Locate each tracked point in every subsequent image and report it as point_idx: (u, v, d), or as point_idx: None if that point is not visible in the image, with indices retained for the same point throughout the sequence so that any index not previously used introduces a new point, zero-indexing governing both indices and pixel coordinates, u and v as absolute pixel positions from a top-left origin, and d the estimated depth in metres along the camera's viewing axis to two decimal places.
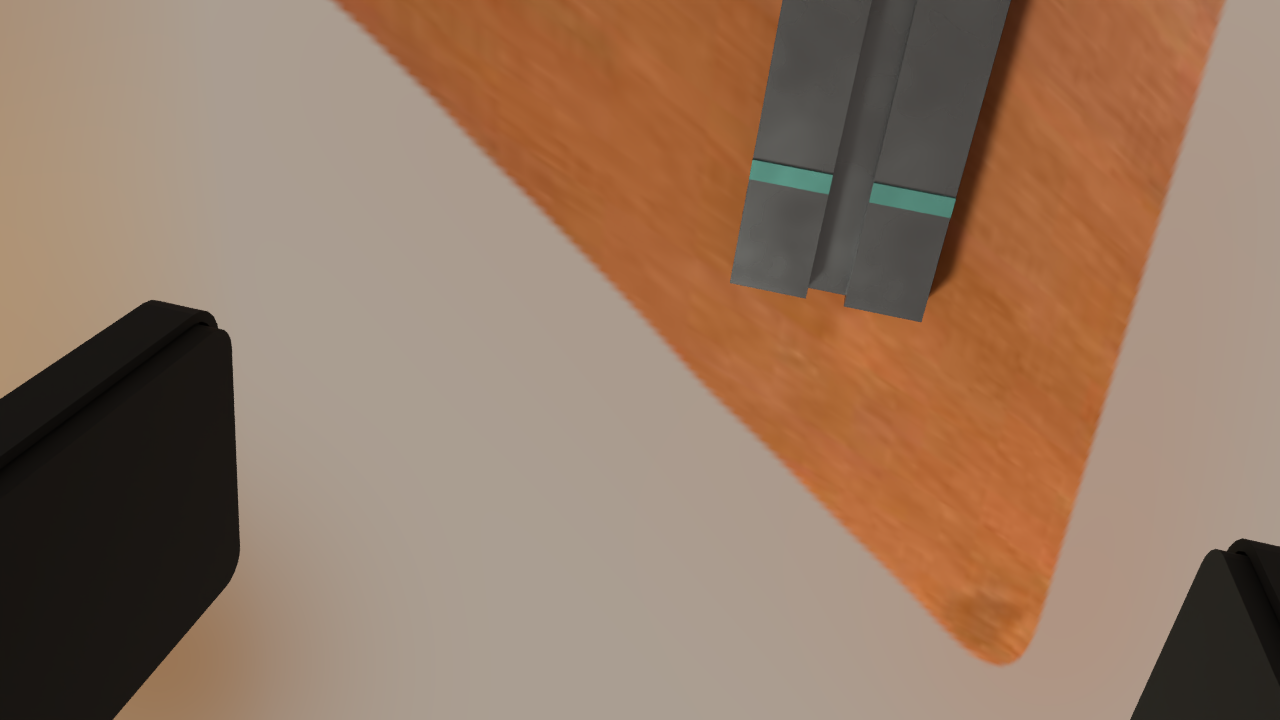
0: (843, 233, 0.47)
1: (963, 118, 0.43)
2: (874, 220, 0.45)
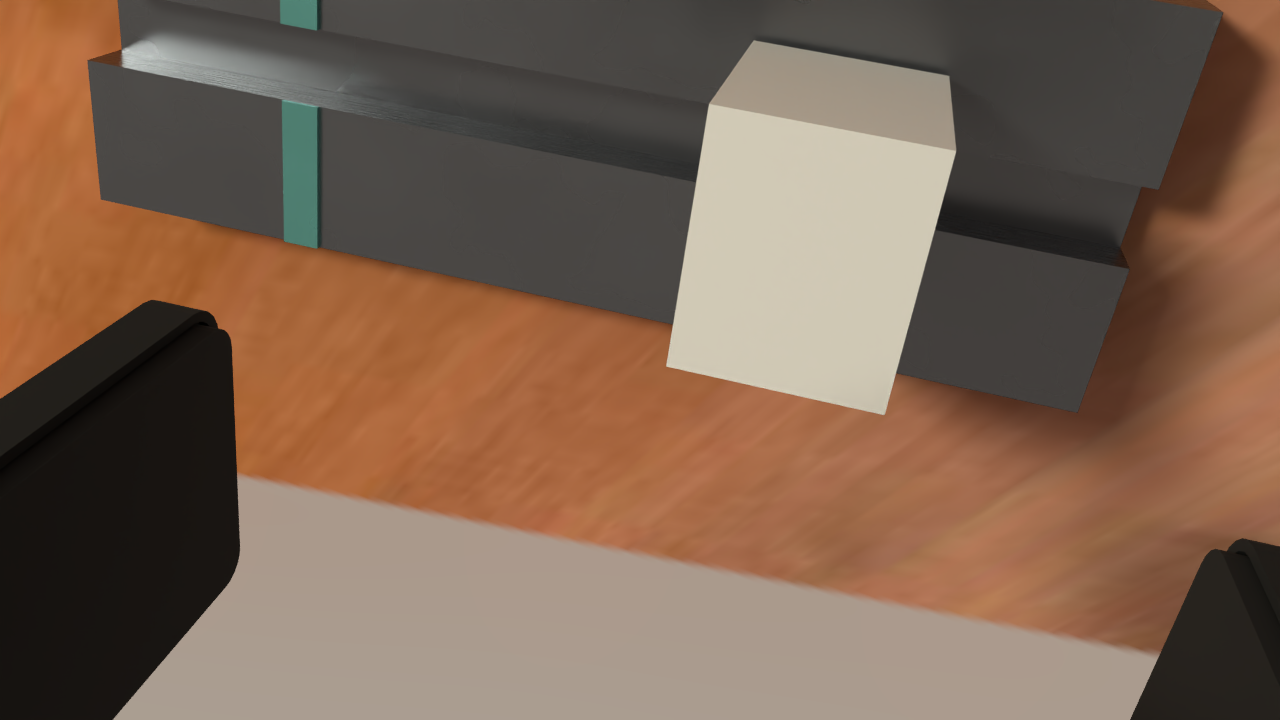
0: (229, 41, 0.25)
1: (450, 253, 0.25)
2: (253, 111, 0.24)
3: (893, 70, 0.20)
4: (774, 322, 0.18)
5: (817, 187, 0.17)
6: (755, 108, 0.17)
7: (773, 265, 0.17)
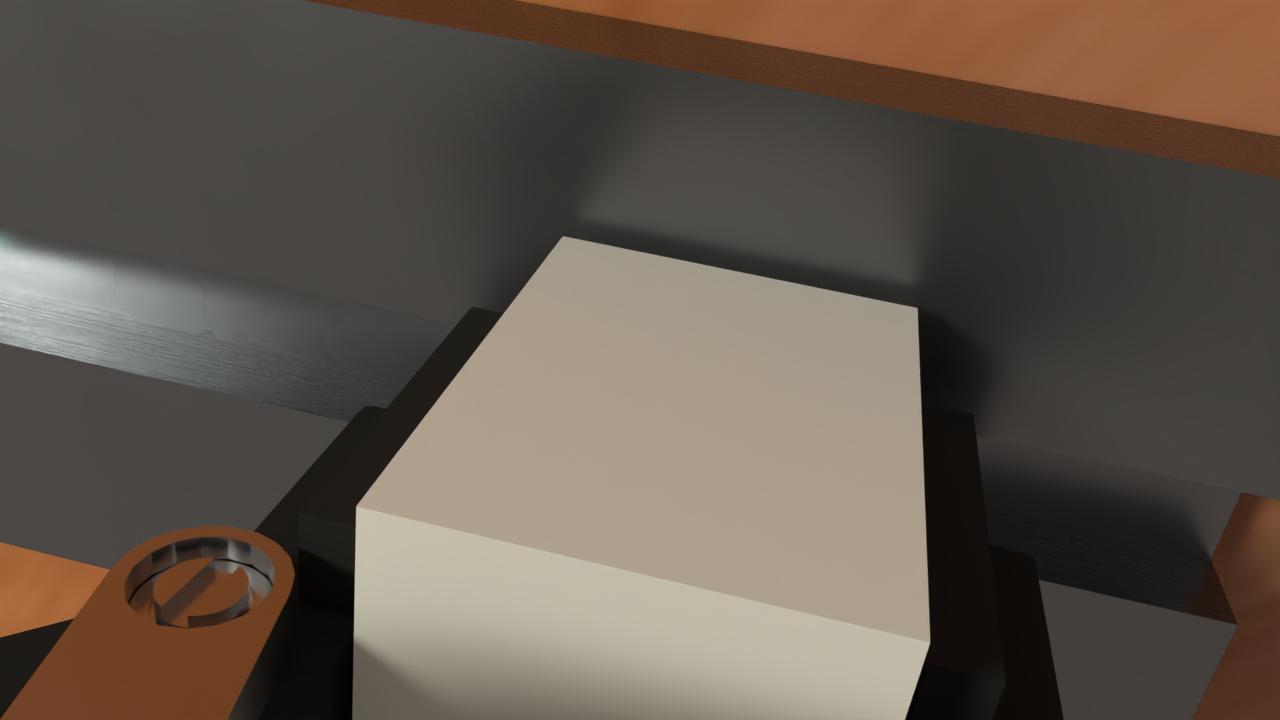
0: None
1: (111, 540, 0.15)
2: None
3: (812, 305, 0.11)
4: None
5: (615, 684, 0.07)
6: (471, 505, 0.07)
7: None
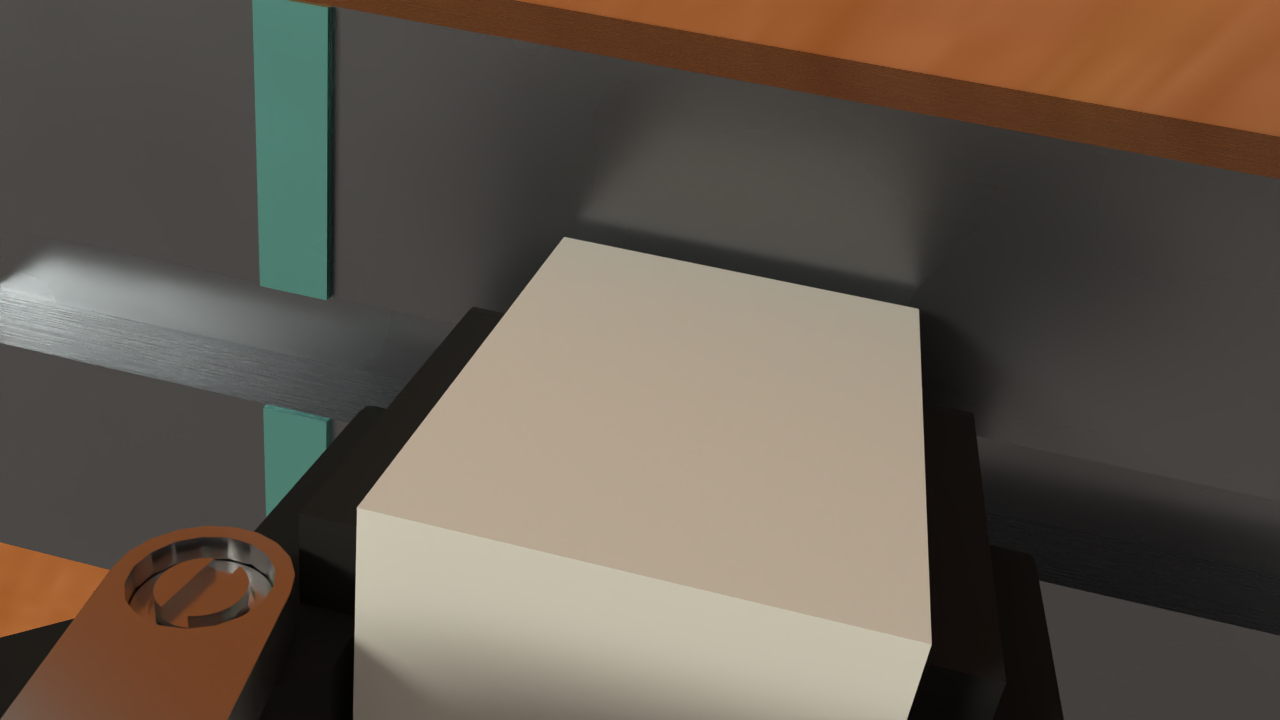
0: (172, 284, 0.15)
1: None
2: (212, 418, 0.14)
3: (814, 305, 0.11)
4: None
5: (616, 686, 0.07)
6: (472, 507, 0.07)
7: None
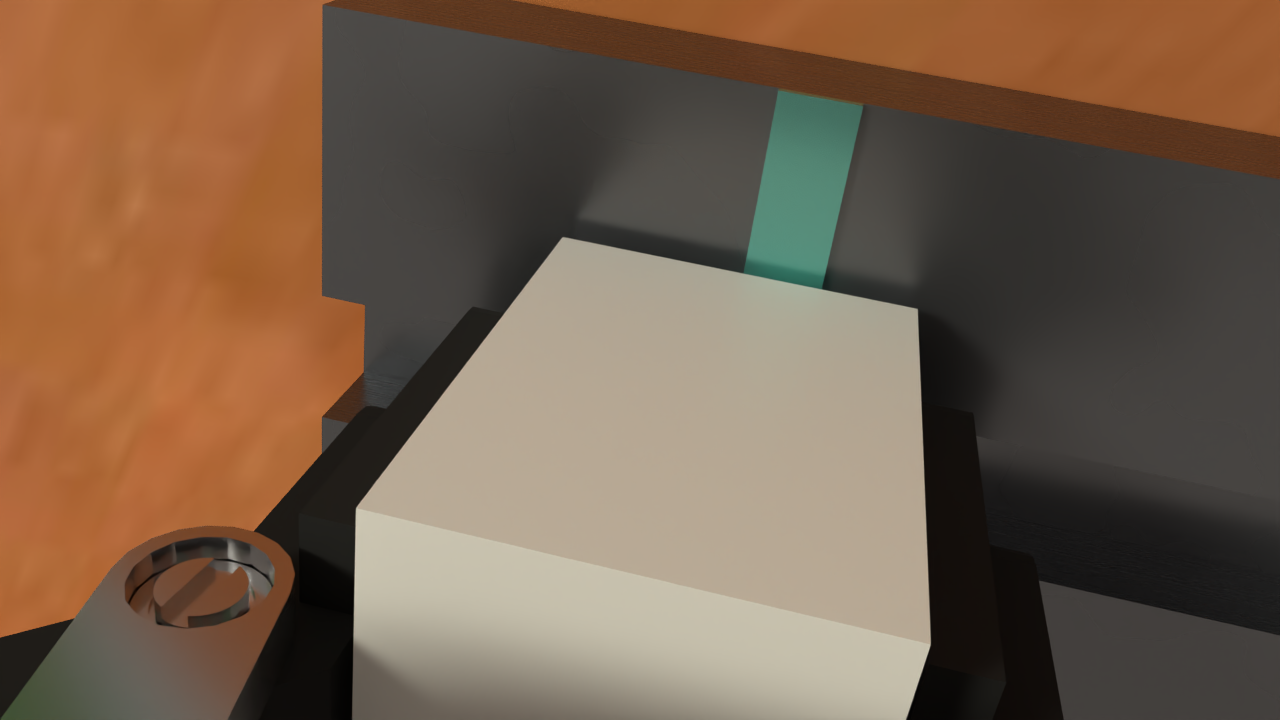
0: None
1: None
2: None
3: (813, 305, 0.11)
4: None
5: (615, 686, 0.07)
6: (471, 507, 0.07)
7: None
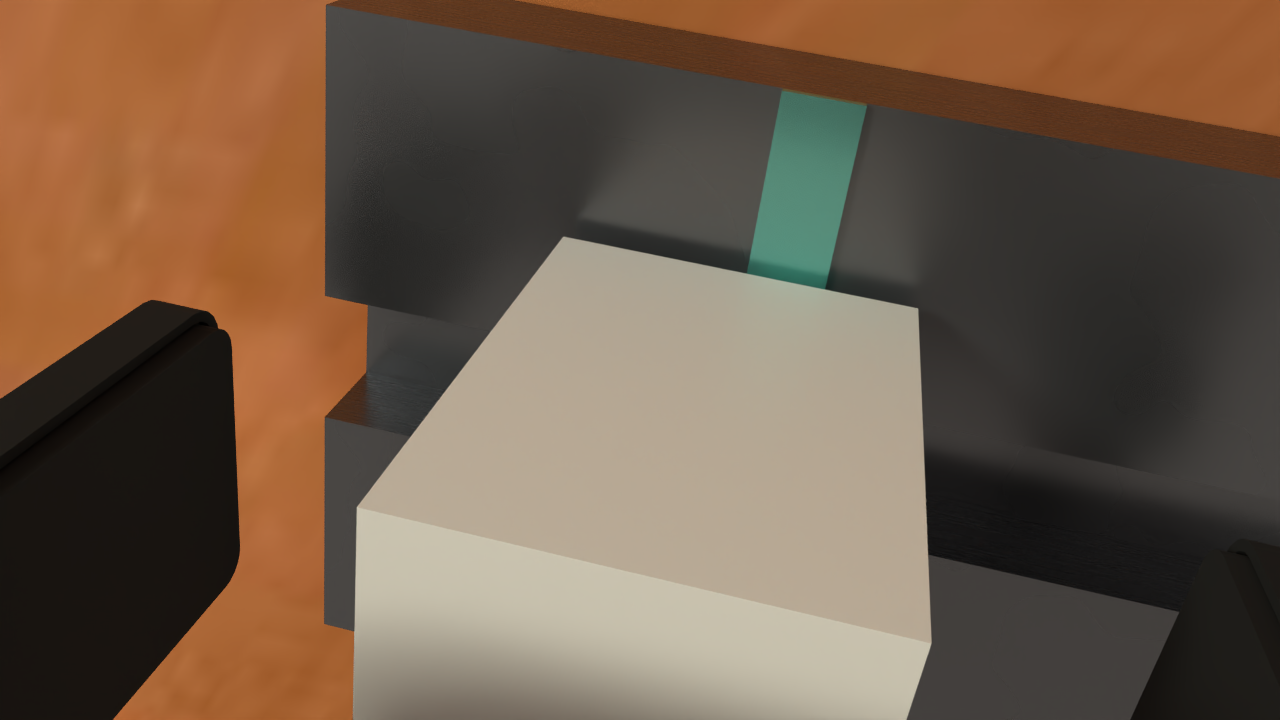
0: None
1: None
2: None
3: (813, 305, 0.11)
4: None
5: (615, 686, 0.07)
6: (471, 506, 0.07)
7: None
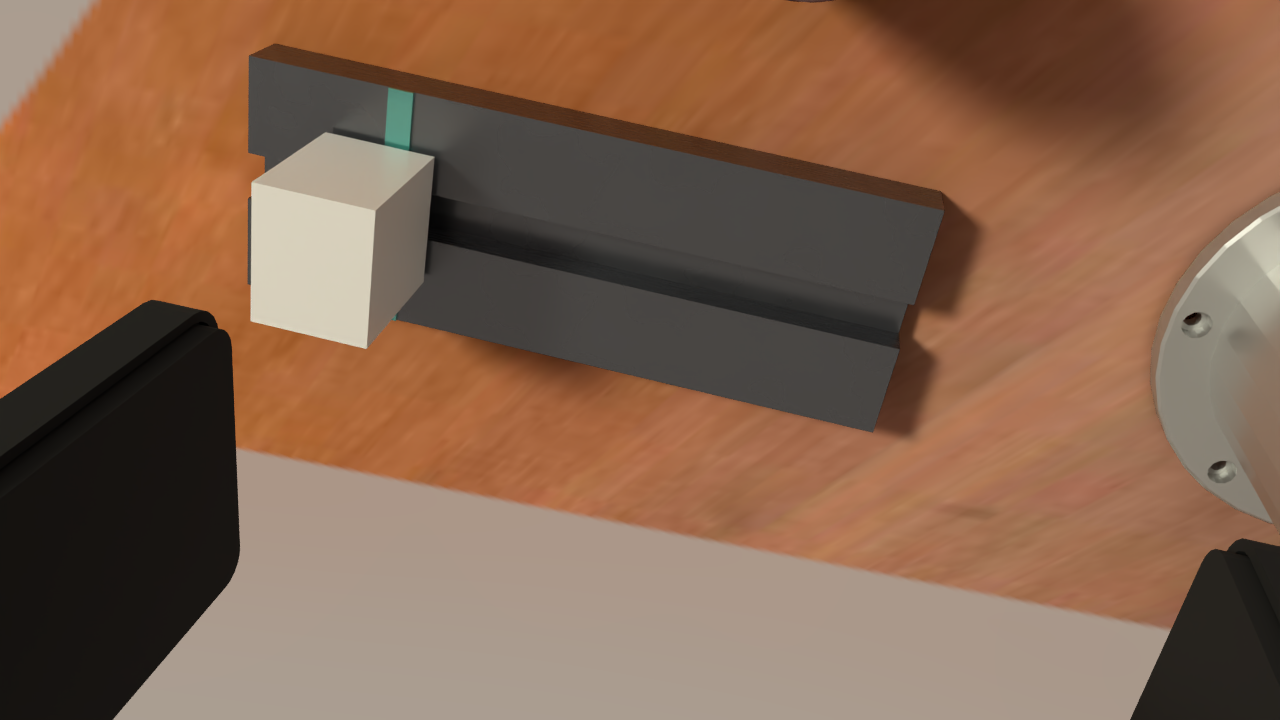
0: None
1: (484, 326, 0.38)
2: None
3: (398, 154, 0.35)
4: (302, 298, 0.33)
5: (312, 227, 0.32)
6: (278, 184, 0.32)
7: (296, 267, 0.32)
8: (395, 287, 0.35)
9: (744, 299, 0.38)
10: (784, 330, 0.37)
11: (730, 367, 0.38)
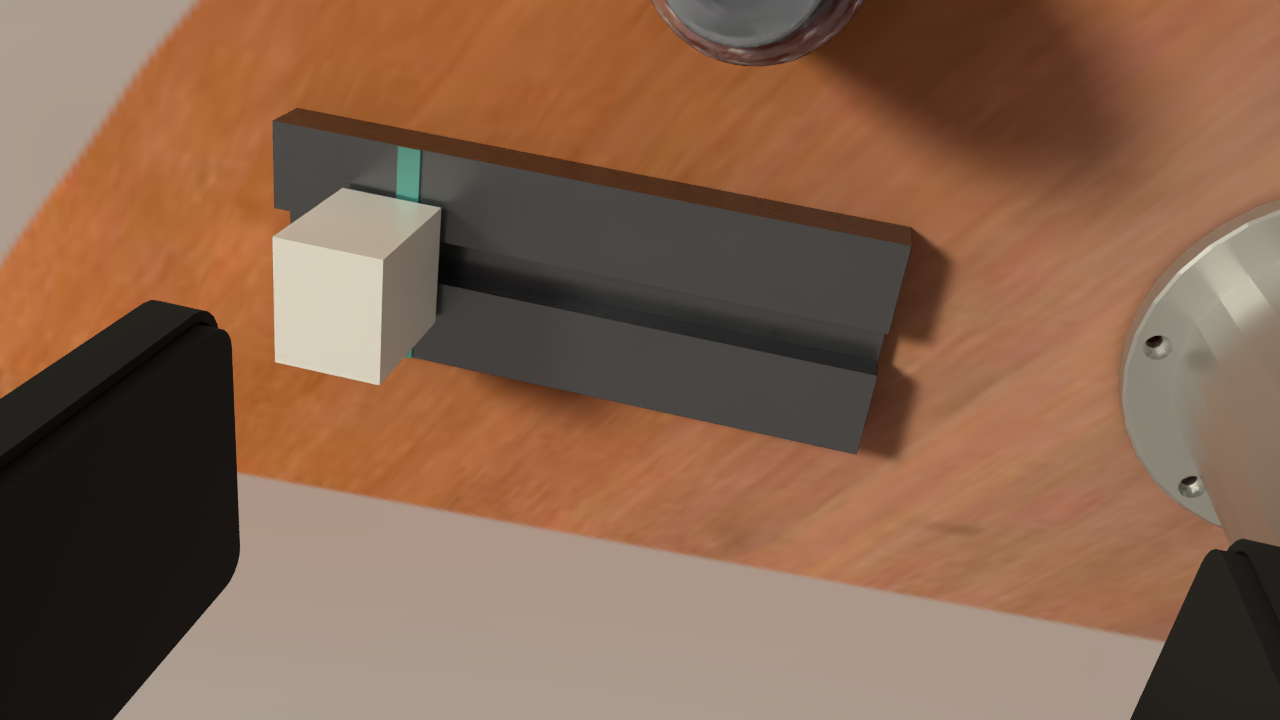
0: None
1: (492, 362, 0.41)
2: None
3: (408, 206, 0.39)
4: (320, 339, 0.36)
5: (327, 275, 0.35)
6: (297, 238, 0.35)
7: (314, 312, 0.36)
8: (406, 328, 0.38)
9: (732, 332, 0.40)
10: (769, 360, 0.39)
11: (720, 395, 0.40)
